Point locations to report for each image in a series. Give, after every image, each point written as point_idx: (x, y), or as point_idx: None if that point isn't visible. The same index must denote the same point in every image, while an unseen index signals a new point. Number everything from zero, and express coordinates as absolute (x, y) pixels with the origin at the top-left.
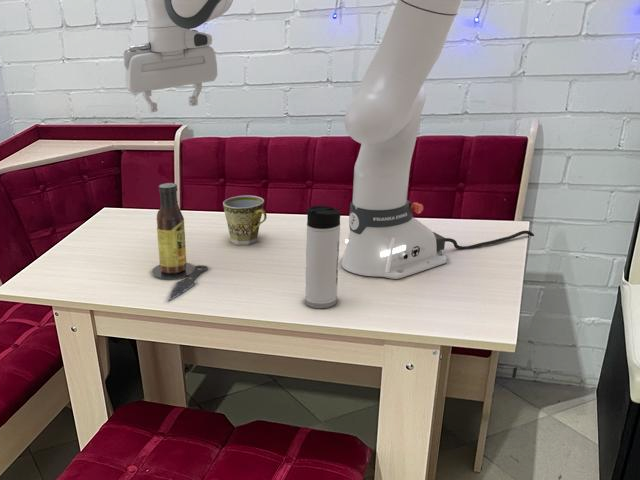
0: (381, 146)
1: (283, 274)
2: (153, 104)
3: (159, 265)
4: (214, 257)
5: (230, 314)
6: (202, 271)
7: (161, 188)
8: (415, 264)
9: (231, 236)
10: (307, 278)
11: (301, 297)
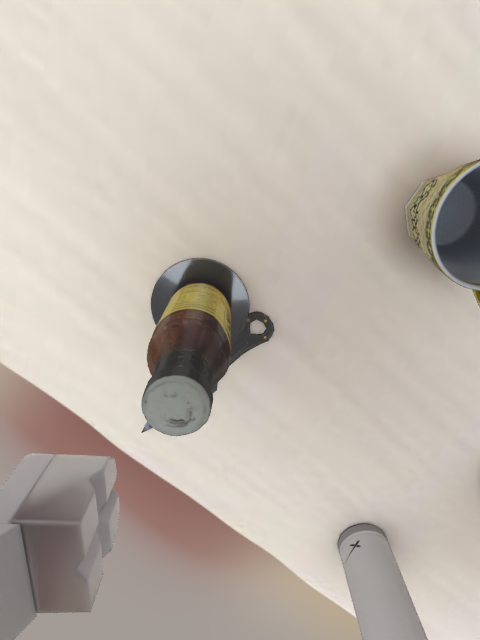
0: None
1: (383, 429)
2: (39, 605)
3: (180, 265)
4: (317, 277)
5: (219, 516)
6: (253, 347)
7: (146, 418)
8: None
9: (408, 215)
10: (349, 584)
11: (349, 515)
